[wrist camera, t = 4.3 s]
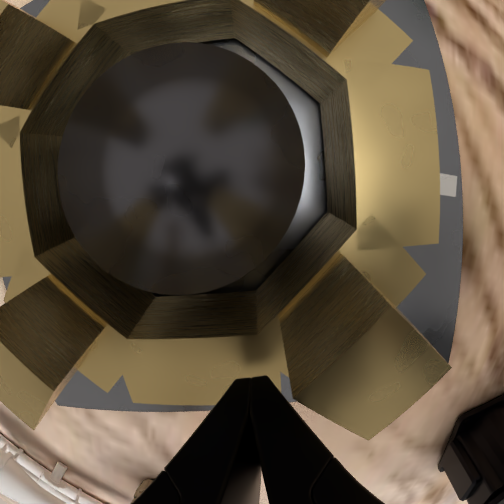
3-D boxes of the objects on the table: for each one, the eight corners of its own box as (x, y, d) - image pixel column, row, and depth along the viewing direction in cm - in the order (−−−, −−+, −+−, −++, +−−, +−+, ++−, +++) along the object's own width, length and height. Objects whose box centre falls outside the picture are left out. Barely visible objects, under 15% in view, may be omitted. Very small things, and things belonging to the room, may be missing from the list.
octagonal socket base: (180, -55, 7) (144, -153, 1) (454, 159, 9) (581, 169, 4) (-12, 207, 10) (-115, 239, 4) (223, 405, 12) (210, 527, 6)
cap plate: (390, -49, 8) (422, -92, 4) (439, 353, 13) (478, 400, 9) (-5, 37, 9) (-53, 21, 5) (65, 394, 14) (33, 440, 10)
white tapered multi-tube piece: (128, 491, 19) (105, 529, 16) (-8, 397, 17) (-28, 439, 14) (137, 530, 12) (108, 575, 10) (-47, 403, 10) (-67, 456, 7)
